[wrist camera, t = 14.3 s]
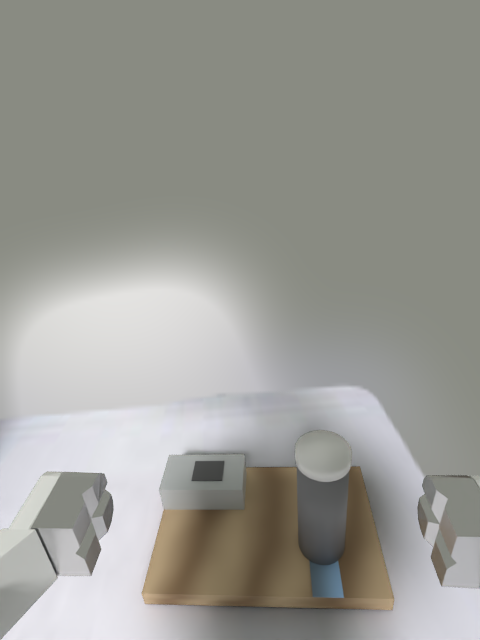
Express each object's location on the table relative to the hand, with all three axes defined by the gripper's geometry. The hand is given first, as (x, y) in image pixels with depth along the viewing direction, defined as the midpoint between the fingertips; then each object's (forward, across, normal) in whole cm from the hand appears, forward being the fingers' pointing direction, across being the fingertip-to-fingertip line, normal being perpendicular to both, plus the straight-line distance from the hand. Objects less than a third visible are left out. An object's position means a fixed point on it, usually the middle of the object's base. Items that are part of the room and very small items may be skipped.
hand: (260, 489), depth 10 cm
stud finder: (+21, +7, +26) cm, 34 cm away
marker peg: (+15, -4, +25) cm, 30 cm away
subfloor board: (+17, +1, +27) cm, 32 cm away
